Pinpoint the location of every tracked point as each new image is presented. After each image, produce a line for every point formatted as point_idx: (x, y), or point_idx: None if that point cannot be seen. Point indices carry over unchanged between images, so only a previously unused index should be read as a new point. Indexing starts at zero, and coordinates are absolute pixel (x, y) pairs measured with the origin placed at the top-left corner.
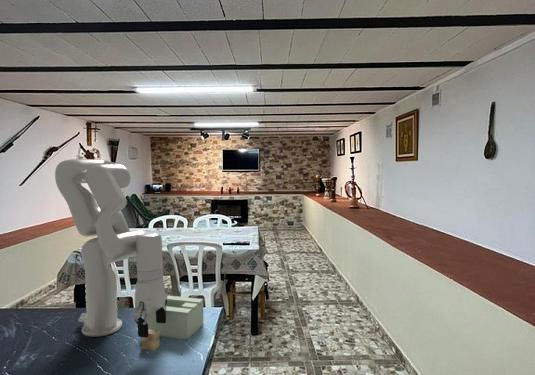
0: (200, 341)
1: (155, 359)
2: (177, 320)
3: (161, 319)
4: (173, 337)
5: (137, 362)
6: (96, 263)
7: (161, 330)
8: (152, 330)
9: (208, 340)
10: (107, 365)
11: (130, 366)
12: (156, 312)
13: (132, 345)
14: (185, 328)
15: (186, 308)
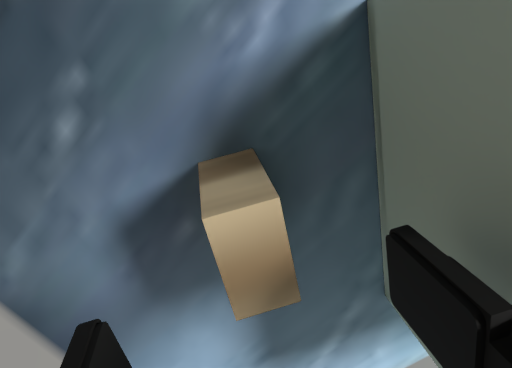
0: (391, 341)
1: (156, 311)
2: None
3: (410, 301)
4: (382, 228)
5: (70, 265)
6: None
7: (399, 168)
8: (282, 259)
9: (409, 357)
10: None
11: (13, 268)
12: (463, 311)
13: (191, 66)
14: None
15: None
